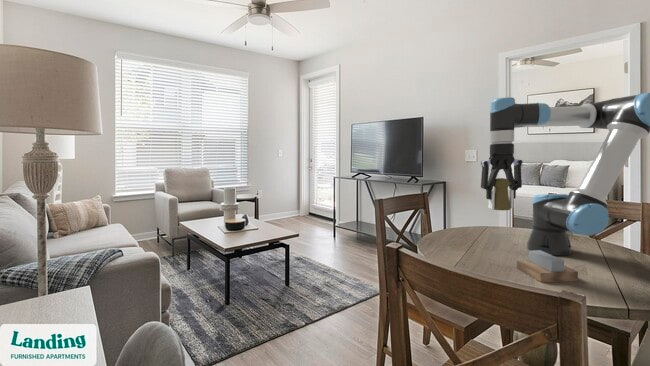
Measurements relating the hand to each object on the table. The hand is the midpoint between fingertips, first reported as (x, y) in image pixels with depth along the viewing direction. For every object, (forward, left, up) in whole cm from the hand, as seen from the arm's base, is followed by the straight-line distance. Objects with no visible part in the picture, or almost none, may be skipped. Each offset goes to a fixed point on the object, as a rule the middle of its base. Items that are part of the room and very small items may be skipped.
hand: (500, 208), depth 118 cm
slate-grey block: (-9, +11, -18) cm, 23 cm away
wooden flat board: (-9, +11, -21) cm, 26 cm away
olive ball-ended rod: (0, 0, 0) cm, 0 cm away
